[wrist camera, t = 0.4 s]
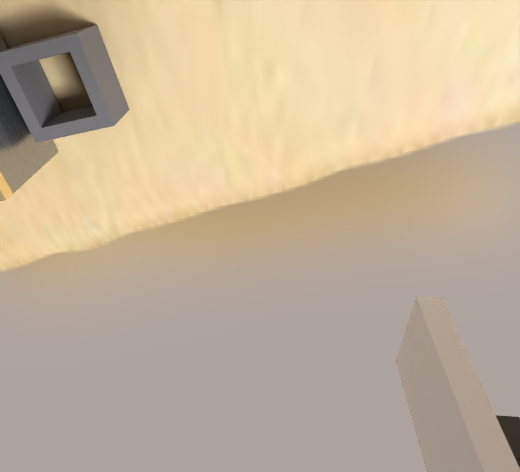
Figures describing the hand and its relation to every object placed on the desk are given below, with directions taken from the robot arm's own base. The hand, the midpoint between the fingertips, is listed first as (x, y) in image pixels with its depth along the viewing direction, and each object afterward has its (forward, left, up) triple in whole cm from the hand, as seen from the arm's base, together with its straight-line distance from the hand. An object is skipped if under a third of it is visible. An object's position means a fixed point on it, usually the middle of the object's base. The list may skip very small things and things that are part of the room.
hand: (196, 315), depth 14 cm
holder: (-4, -13, -27) cm, 30 cm away
